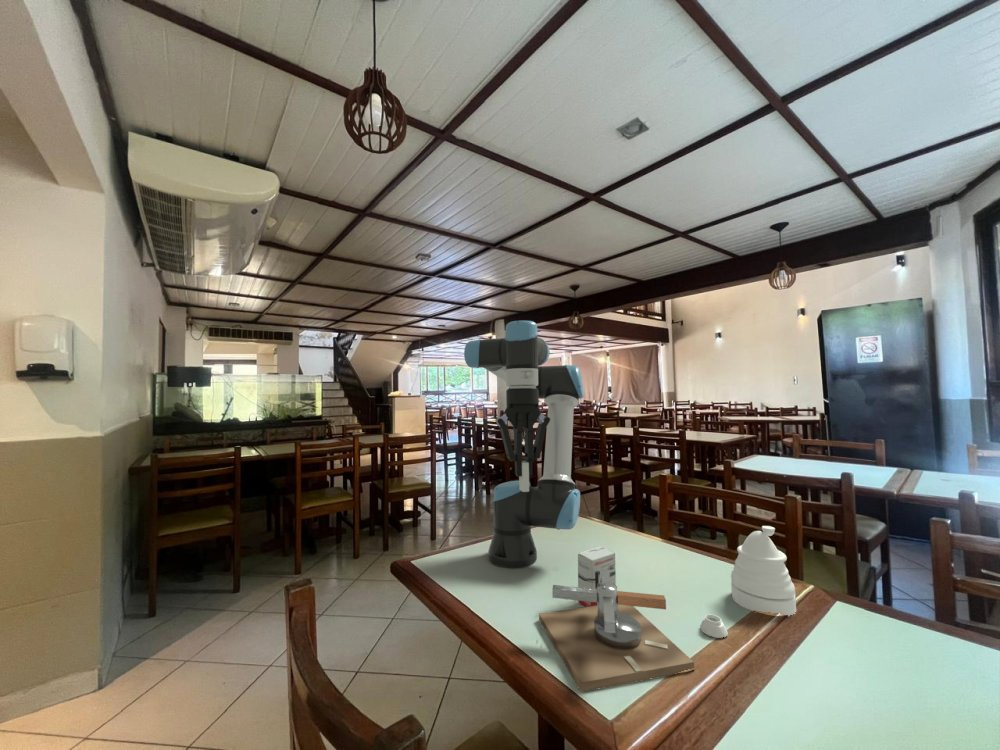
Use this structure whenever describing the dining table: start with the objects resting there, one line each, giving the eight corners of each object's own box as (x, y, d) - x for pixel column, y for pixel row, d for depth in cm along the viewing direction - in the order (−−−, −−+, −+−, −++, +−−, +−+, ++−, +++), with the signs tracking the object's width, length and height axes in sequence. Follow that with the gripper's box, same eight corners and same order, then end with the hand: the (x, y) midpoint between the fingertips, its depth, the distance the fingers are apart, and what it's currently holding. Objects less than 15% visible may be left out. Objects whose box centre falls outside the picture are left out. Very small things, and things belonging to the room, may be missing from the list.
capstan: (547, 660, 70) (547, 608, 71) (557, 600, 91) (556, 560, 92) (679, 679, 65) (676, 622, 66) (657, 610, 86) (655, 568, 87)
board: (539, 620, 86) (539, 612, 86) (628, 607, 91) (627, 600, 91) (581, 692, 65) (580, 681, 65) (694, 670, 70) (693, 660, 70)
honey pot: (799, 601, 93) (794, 525, 95) (792, 623, 84) (787, 538, 85) (738, 584, 102) (734, 515, 103) (725, 603, 93) (722, 526, 94)
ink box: (592, 612, 90) (591, 559, 90) (577, 603, 94) (576, 552, 94) (617, 601, 94) (616, 551, 95) (601, 593, 98) (600, 545, 99)
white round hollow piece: (711, 623, 85) (695, 629, 83) (710, 609, 85) (694, 615, 83) (733, 636, 80) (716, 642, 78) (732, 621, 80) (715, 627, 78)
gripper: (499, 387, 85) (501, 496, 84) (554, 387, 88) (557, 491, 87) (491, 388, 92) (492, 488, 91) (542, 387, 95) (544, 484, 94)
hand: (524, 490), depth 89 cm, fingers closed
